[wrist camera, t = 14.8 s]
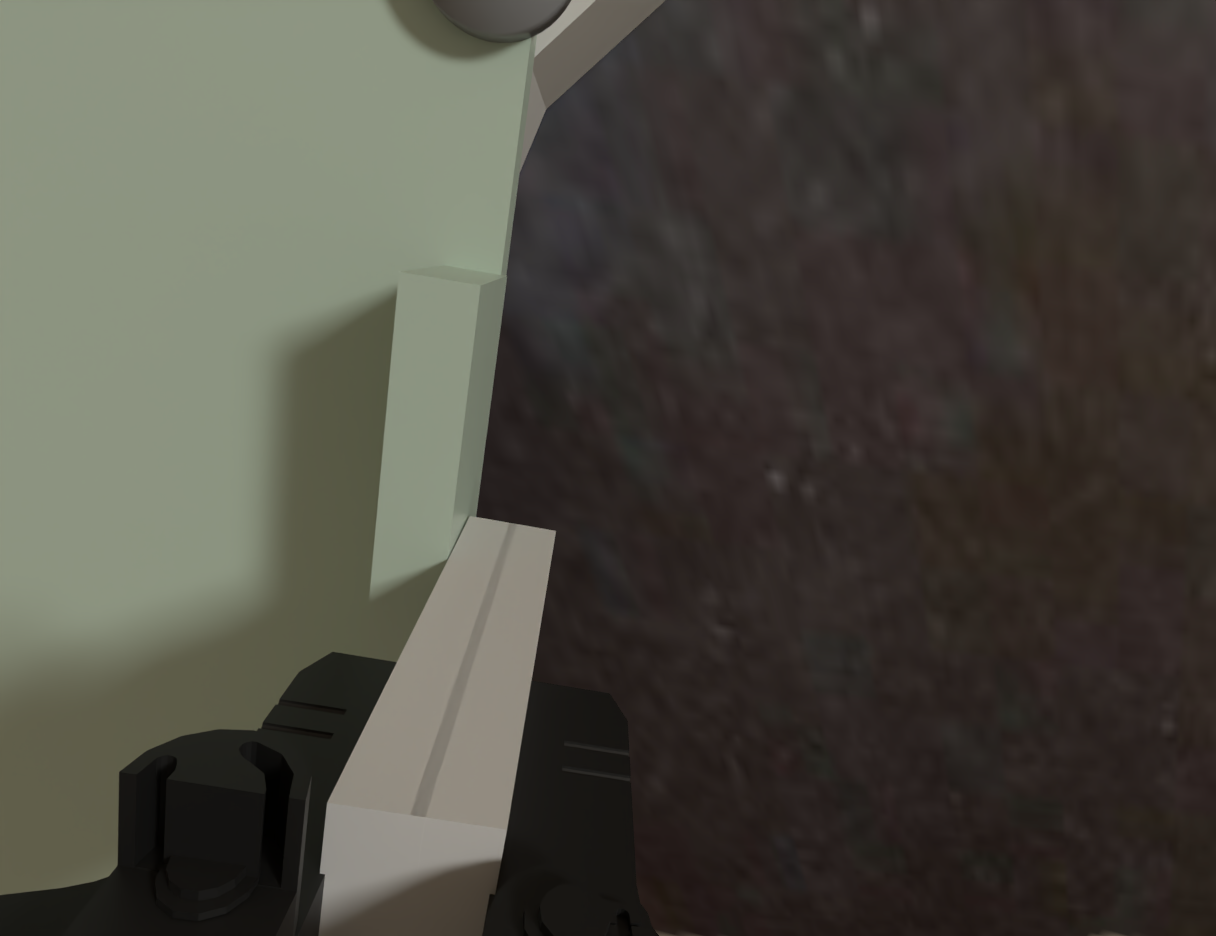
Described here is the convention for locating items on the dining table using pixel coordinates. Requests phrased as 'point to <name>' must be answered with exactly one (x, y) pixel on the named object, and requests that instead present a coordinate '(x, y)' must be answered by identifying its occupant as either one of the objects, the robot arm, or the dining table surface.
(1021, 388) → the dining table surface
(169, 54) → the cover
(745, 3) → the dining table surface
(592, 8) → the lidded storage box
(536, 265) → the dining table surface
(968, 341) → the dining table surface
